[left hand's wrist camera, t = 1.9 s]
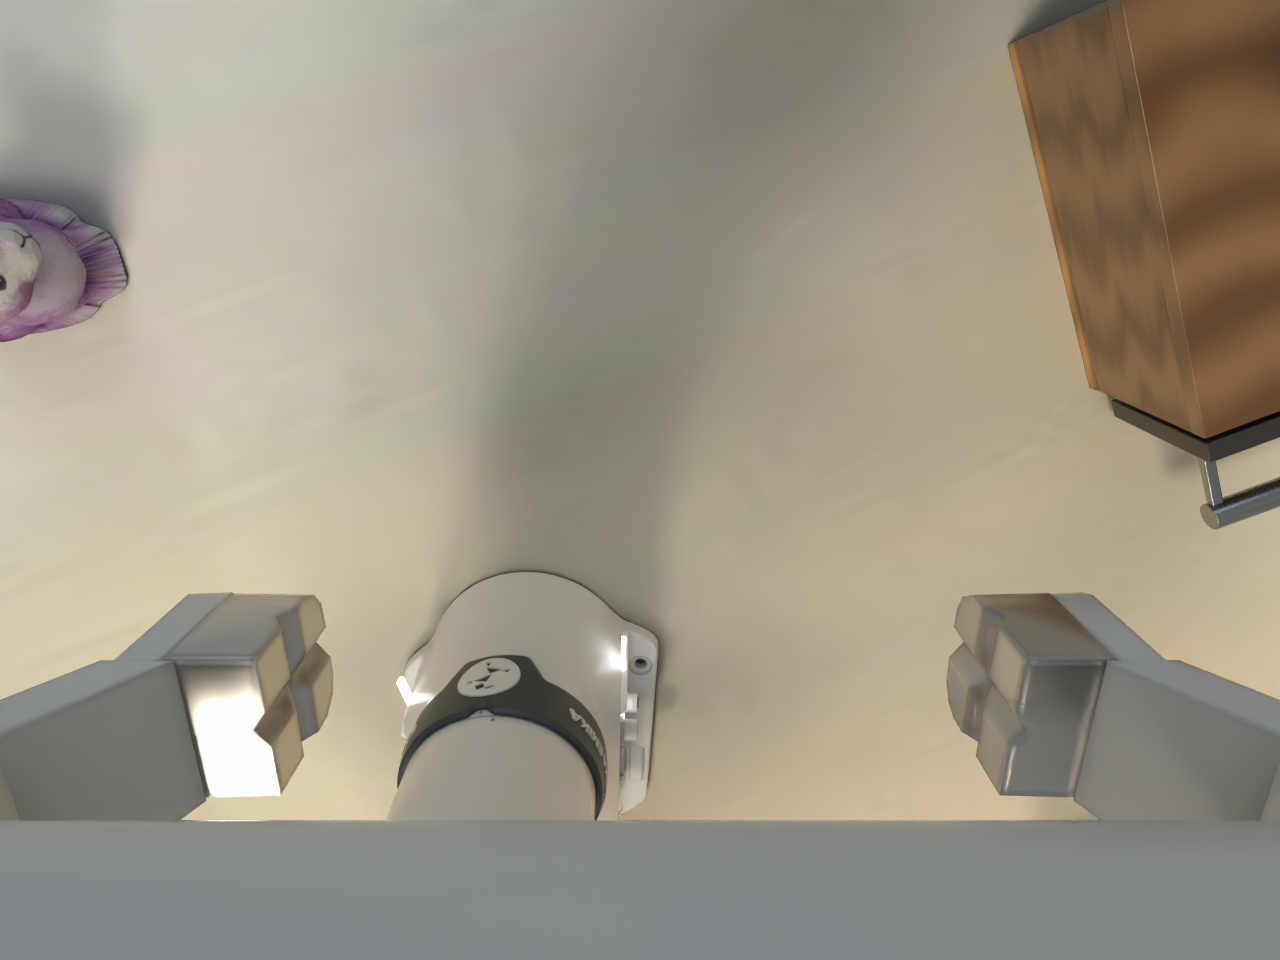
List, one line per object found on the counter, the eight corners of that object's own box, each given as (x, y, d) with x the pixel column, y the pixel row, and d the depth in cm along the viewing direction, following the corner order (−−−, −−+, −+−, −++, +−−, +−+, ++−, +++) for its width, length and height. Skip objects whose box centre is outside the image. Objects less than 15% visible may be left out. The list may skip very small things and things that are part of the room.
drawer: (1271, 440, 52) (1396, 490, 43) (1131, 491, 53) (1226, 551, 44) (1206, 28, 43) (1344, -10, 35) (1041, 101, 45) (1136, 81, 36)
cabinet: (1252, 323, 50) (1414, 361, 40) (1089, 387, 51) (1204, 439, 41) (1193, -41, 43) (1372, -113, 33) (1007, 44, 44) (1120, 1, 34)
